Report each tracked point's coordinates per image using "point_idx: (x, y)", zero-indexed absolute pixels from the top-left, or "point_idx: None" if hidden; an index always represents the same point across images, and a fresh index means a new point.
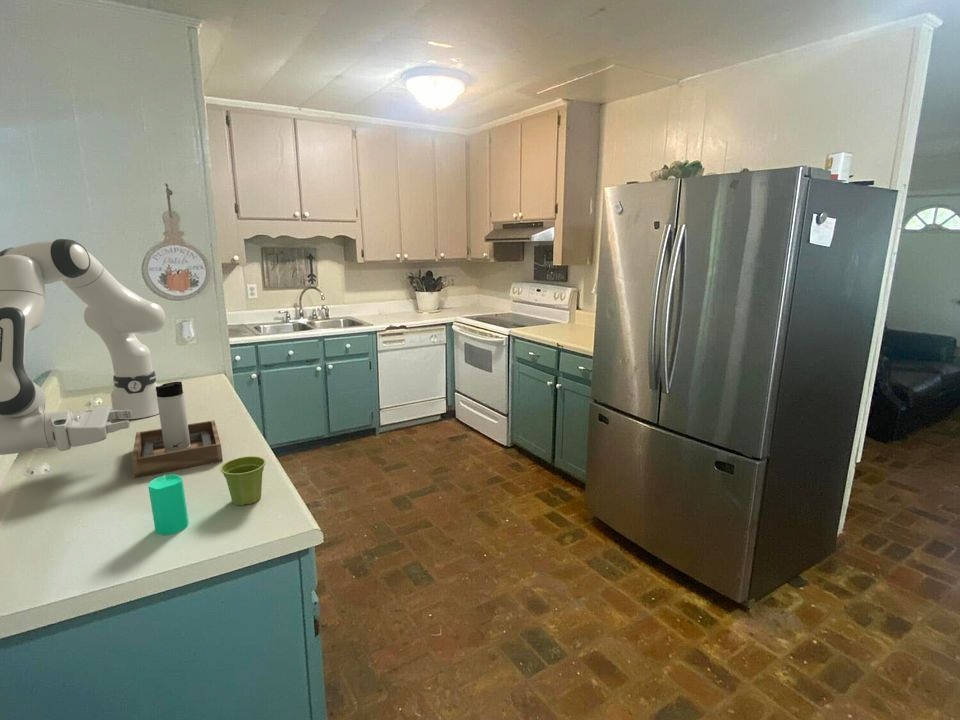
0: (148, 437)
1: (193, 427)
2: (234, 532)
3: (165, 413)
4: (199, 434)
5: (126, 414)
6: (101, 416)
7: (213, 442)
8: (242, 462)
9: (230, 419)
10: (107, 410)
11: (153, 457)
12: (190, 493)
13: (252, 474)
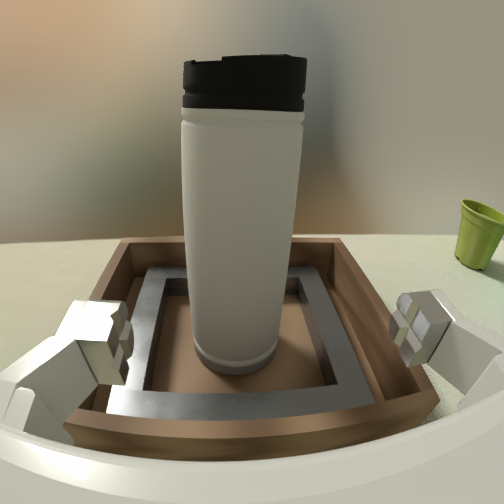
0: None
1: (116, 278)
2: None
3: (294, 198)
4: (165, 281)
5: (119, 341)
6: (399, 501)
7: None
8: (468, 215)
9: (47, 255)
10: (16, 443)
11: None
12: (471, 312)
13: (493, 215)
